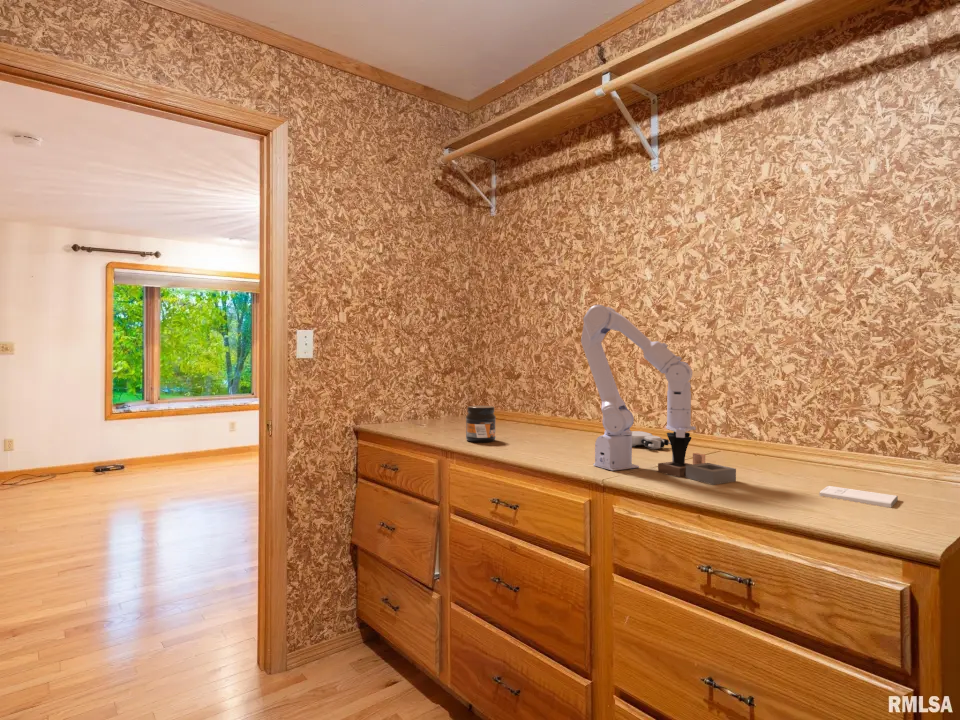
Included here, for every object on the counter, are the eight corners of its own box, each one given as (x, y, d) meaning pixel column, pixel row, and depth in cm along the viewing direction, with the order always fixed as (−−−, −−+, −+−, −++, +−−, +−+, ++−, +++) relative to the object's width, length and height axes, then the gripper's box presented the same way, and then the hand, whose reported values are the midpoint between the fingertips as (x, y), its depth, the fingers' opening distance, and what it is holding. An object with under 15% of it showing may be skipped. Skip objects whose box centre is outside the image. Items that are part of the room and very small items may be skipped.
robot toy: (675, 451, 173) (639, 441, 186) (676, 438, 173) (640, 429, 185) (650, 455, 166) (614, 444, 179) (651, 441, 166) (615, 431, 179)
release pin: (688, 472, 136) (688, 456, 136) (679, 470, 139) (679, 454, 139) (705, 469, 139) (705, 454, 139) (696, 467, 142) (696, 452, 142)
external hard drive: (891, 511, 106) (819, 498, 115) (897, 503, 112) (828, 491, 121) (891, 502, 106) (819, 491, 115) (897, 495, 112) (828, 484, 121)
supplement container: (481, 444, 179) (481, 408, 179) (459, 440, 187) (459, 406, 187) (501, 440, 187) (502, 406, 187) (480, 437, 194) (480, 404, 194)
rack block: (713, 484, 124) (713, 471, 124) (685, 477, 131) (685, 465, 131) (735, 481, 128) (735, 468, 128) (707, 474, 135) (707, 462, 135)
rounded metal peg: (678, 474, 134) (679, 443, 134) (669, 472, 137) (669, 441, 137) (687, 473, 136) (687, 442, 136) (677, 471, 139) (678, 440, 138)
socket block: (679, 477, 132) (679, 468, 132) (658, 471, 138) (658, 463, 138) (699, 474, 135) (699, 465, 135) (677, 469, 141) (677, 460, 141)
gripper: (698, 412, 128) (697, 468, 128) (693, 406, 142) (692, 457, 142) (667, 411, 130) (667, 466, 130) (665, 406, 144) (664, 456, 144)
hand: (678, 461), depth 137 cm, fingers closed on rounded metal peg, 3 cm apart
